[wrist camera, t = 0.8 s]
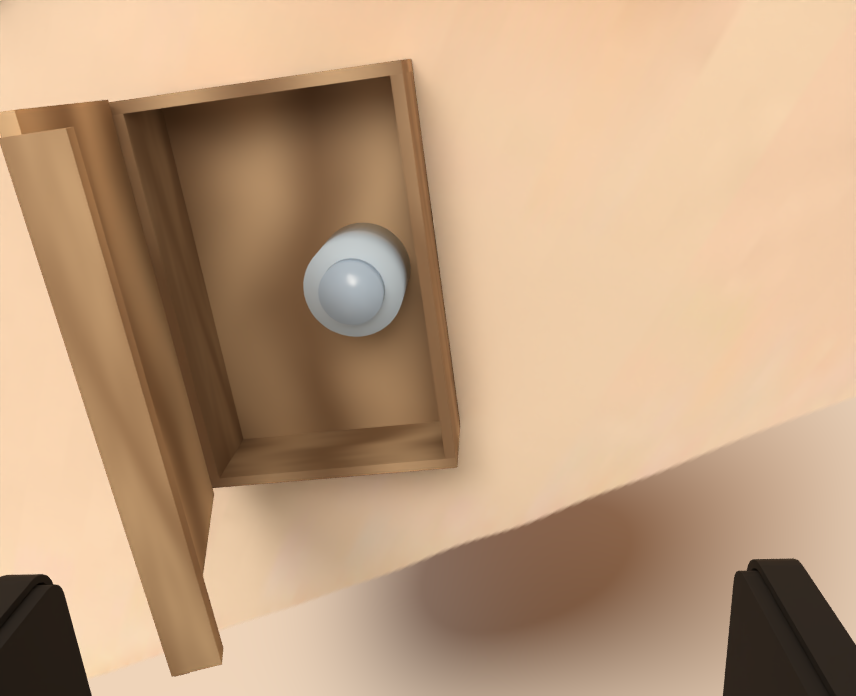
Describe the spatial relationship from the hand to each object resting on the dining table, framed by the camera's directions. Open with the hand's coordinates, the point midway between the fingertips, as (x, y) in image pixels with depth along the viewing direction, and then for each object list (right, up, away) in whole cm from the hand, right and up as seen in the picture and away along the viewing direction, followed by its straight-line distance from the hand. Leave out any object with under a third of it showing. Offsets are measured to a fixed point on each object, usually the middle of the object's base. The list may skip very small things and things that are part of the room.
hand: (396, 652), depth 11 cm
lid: (-9, +4, +17) cm, 20 cm away
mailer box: (-5, +8, +27) cm, 29 cm away
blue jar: (-3, +8, +26) cm, 28 cm away
